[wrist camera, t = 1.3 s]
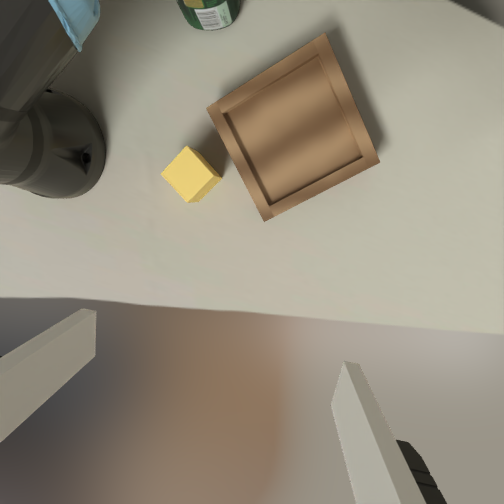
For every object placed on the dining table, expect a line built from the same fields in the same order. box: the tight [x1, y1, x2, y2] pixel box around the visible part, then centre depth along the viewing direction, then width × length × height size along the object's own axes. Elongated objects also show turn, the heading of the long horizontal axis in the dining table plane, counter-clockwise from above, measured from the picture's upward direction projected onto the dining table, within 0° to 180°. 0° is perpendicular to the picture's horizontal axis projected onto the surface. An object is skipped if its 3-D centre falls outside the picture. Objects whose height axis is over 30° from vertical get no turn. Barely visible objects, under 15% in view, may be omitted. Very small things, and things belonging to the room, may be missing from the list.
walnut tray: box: [206, 33, 380, 222], centre depth 34 cm, size 16×16×4 cm
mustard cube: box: [161, 146, 222, 203], centre depth 36 cm, size 5×5×5 cm
